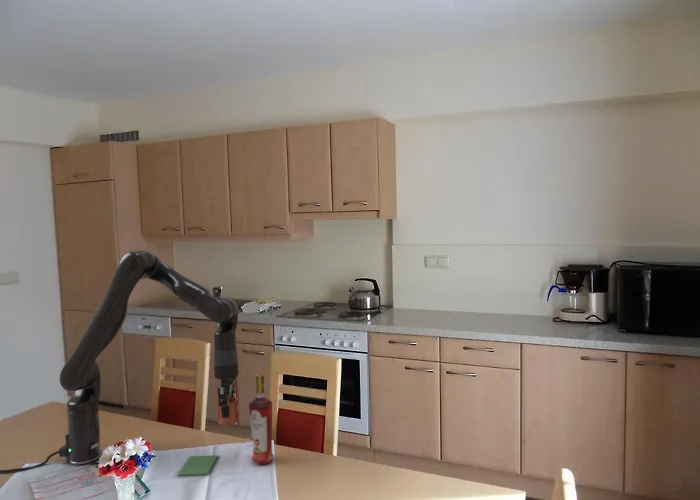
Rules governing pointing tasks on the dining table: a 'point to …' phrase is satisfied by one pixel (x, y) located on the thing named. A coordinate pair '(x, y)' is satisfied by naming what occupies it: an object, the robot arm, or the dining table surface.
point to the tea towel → (198, 465)
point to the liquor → (261, 424)
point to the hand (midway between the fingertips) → (228, 413)
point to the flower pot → (232, 412)
